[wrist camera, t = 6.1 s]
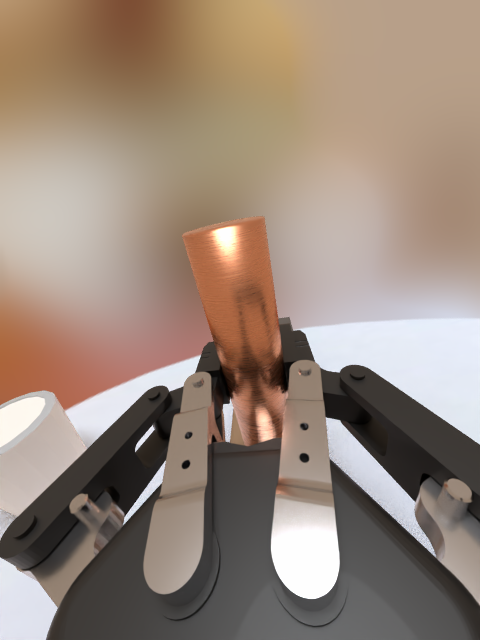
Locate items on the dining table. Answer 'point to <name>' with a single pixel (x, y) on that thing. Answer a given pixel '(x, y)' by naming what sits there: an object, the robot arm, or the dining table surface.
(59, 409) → the beige cylindrical piece
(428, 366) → the dining table surface
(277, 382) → the sliding bolt with handle
